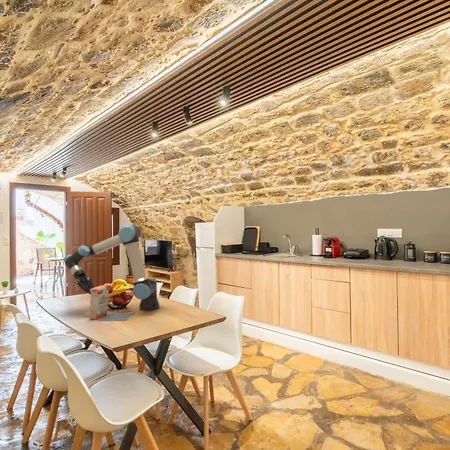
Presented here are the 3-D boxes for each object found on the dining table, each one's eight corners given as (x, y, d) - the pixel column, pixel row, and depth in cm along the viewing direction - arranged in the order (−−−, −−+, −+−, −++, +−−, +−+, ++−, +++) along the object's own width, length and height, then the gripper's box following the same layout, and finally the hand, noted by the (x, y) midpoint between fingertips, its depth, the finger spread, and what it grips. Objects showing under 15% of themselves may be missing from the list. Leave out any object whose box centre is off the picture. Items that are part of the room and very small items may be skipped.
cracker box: (96, 319, 230) (98, 289, 229) (88, 318, 231) (90, 288, 231) (107, 314, 244) (109, 285, 243) (100, 313, 245) (101, 284, 244)
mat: (135, 313, 246) (134, 312, 246) (125, 320, 226) (125, 320, 226) (109, 313, 247) (109, 313, 247) (97, 321, 227) (97, 320, 227)
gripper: (83, 274, 253) (99, 298, 246) (67, 277, 242) (84, 302, 234) (87, 268, 251) (104, 292, 243) (72, 270, 239) (89, 295, 232)
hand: (94, 297), depth 239 cm, fingers closed
